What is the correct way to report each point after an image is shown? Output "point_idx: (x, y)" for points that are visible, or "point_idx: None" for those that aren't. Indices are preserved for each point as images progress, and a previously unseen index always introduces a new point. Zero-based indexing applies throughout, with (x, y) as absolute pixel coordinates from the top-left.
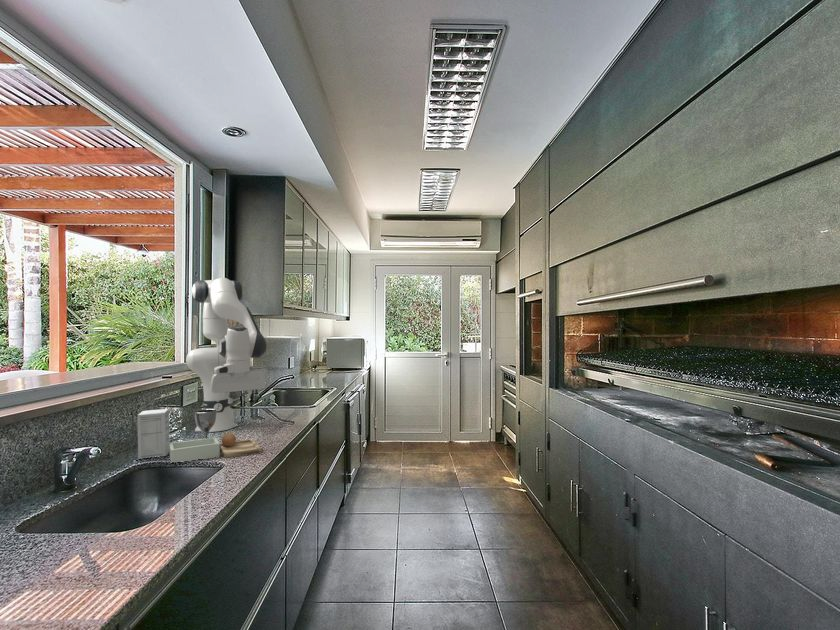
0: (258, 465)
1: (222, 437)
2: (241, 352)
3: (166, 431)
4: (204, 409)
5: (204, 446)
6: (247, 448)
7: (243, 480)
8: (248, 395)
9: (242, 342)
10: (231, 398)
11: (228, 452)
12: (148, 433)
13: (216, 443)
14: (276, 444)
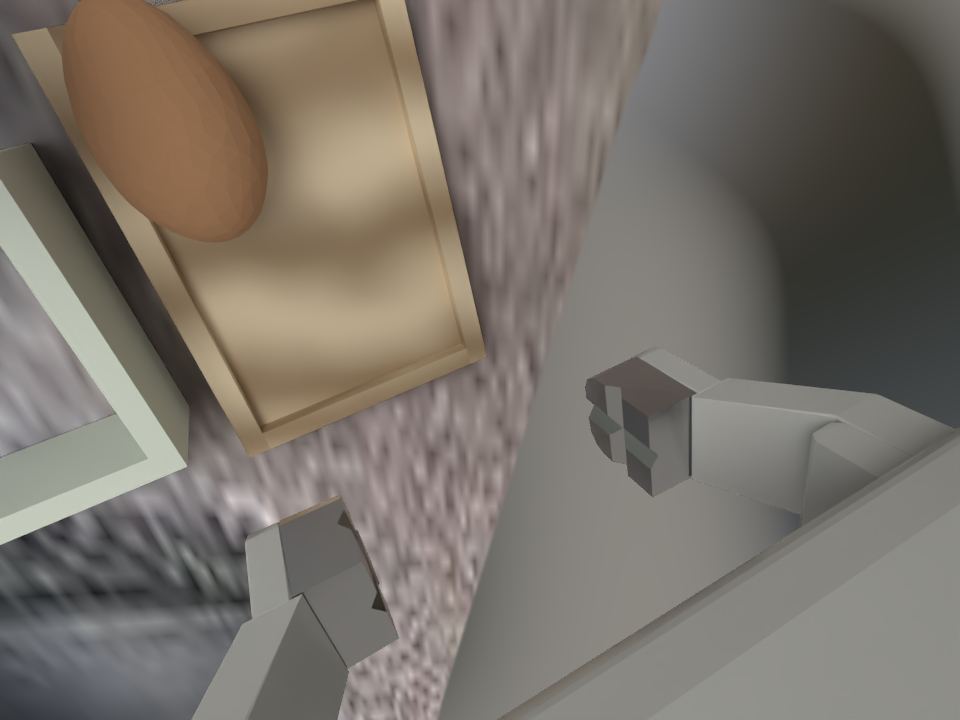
0: (469, 564)
1: (90, 143)
2: None
3: None
4: None
5: (50, 519)
6: (381, 273)
7: (425, 716)
8: (742, 482)
9: None
10: (344, 577)
11: (248, 361)
12: None
13: (155, 463)
14: (571, 137)
